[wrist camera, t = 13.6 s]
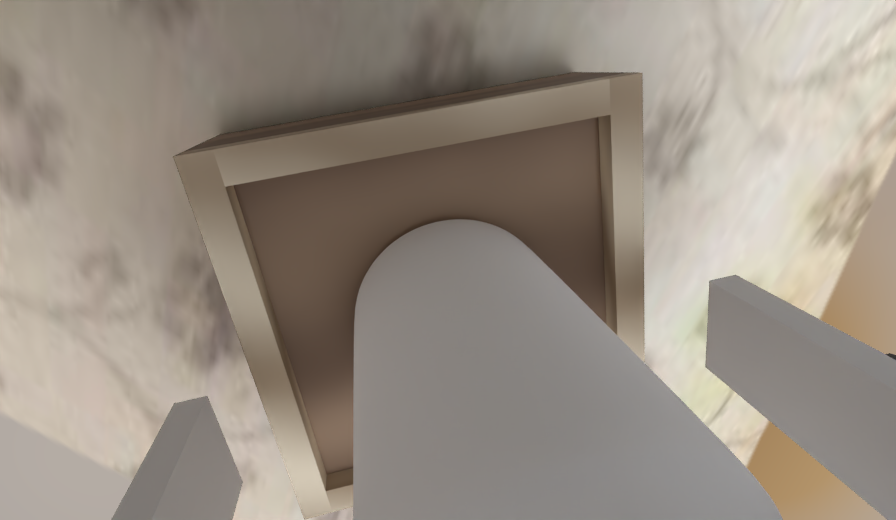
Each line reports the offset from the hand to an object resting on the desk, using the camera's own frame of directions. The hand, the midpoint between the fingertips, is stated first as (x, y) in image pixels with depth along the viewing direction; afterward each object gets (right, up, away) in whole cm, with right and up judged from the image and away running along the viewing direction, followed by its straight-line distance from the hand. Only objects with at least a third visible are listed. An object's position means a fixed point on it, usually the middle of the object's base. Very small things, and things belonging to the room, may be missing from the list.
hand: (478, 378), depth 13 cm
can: (-1, +2, +4) cm, 4 cm away
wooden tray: (-1, +3, +7) cm, 8 cm away
